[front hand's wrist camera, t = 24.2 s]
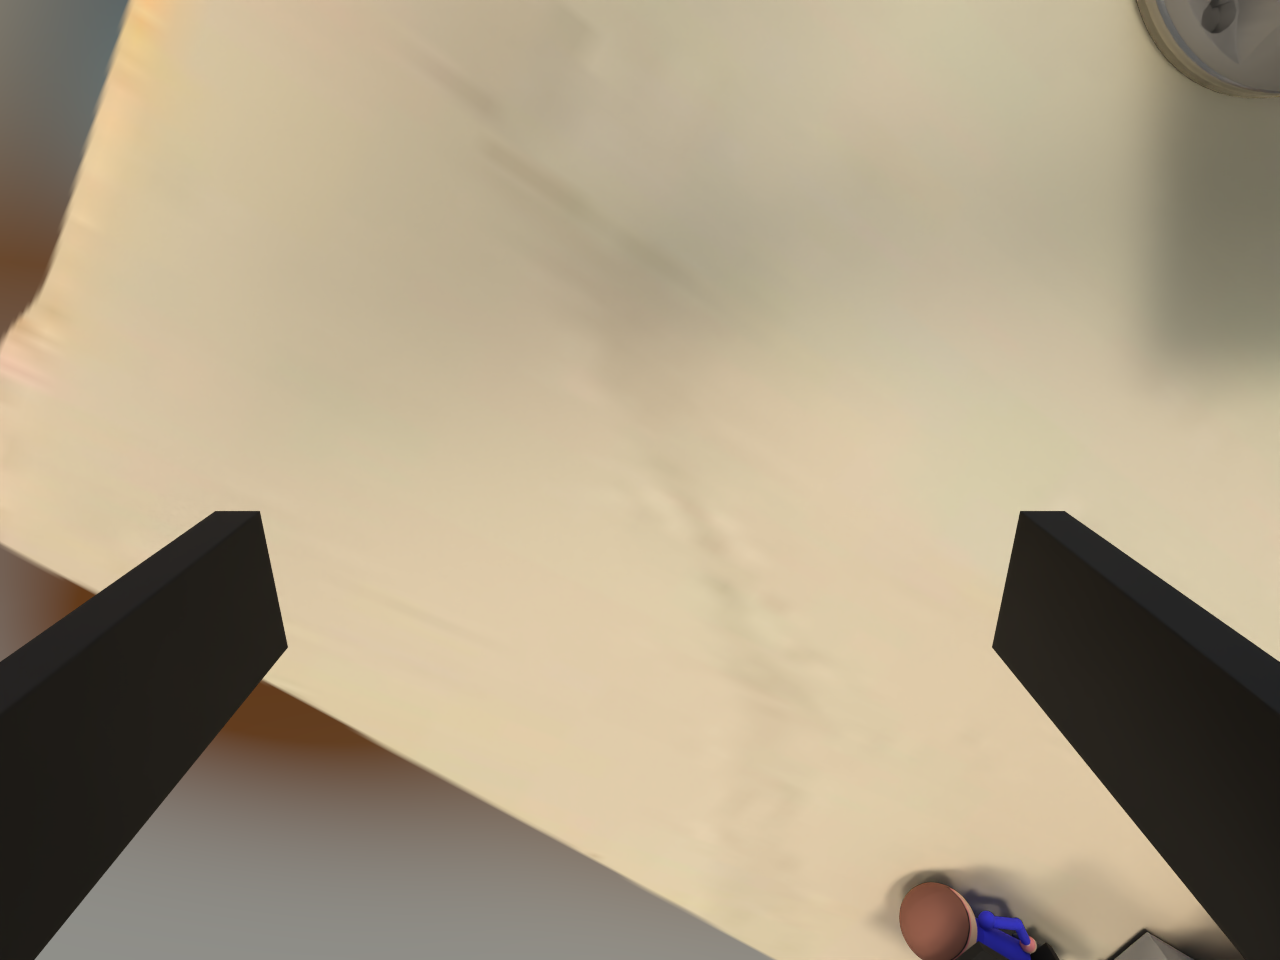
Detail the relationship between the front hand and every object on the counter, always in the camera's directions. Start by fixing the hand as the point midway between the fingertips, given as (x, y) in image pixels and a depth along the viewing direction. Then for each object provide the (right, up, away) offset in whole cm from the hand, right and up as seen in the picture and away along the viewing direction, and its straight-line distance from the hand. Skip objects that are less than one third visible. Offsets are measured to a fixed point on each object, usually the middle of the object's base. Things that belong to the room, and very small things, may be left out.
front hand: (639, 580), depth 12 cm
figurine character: (+25, -31, +40) cm, 56 cm away
